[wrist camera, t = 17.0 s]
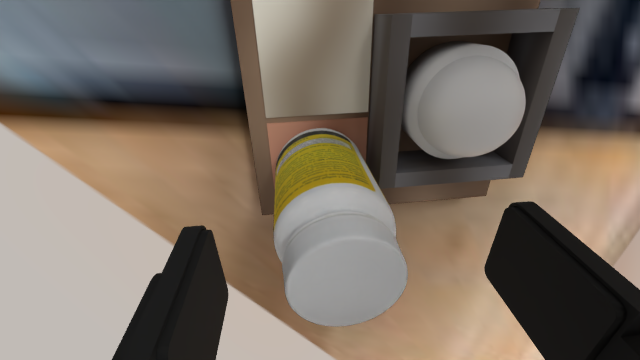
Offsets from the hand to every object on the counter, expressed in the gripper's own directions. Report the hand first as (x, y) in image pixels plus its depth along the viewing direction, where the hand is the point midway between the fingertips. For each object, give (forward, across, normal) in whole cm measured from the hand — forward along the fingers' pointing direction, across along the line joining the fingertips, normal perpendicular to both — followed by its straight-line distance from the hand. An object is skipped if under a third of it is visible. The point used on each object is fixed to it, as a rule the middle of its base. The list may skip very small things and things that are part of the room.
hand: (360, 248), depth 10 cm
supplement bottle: (+8, +1, +1) cm, 8 cm away
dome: (+8, -6, -2) cm, 10 cm away
